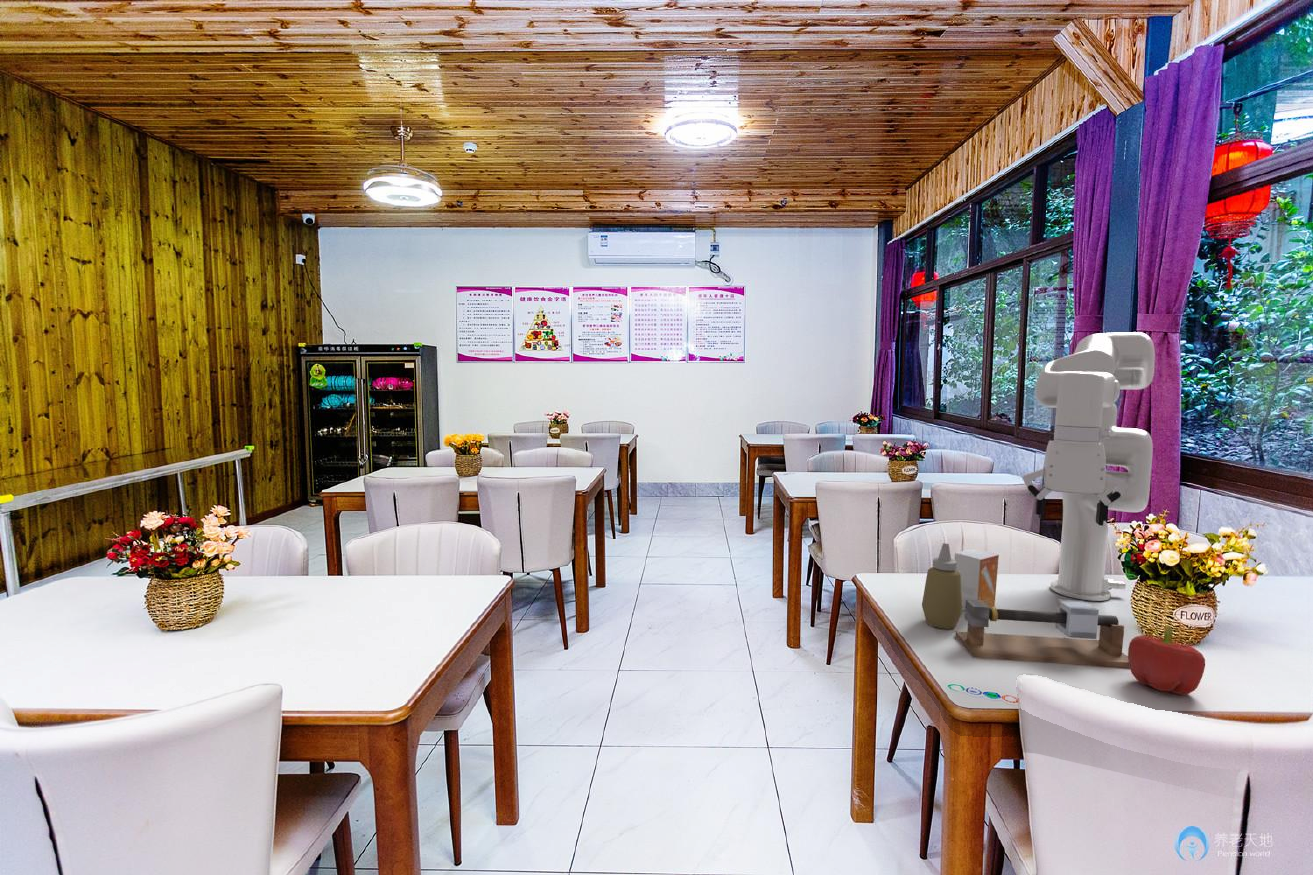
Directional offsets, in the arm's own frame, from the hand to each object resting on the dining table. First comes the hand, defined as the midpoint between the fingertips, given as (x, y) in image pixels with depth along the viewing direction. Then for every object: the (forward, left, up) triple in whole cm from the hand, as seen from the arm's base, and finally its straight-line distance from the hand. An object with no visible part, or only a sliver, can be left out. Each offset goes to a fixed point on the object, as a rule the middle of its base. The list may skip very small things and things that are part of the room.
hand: (1069, 521), depth 123 cm
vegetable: (-9, +15, -26) cm, 32 cm away
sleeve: (-1, +3, -22) cm, 22 cm away
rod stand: (+5, +3, -26) cm, 26 cm away
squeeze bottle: (+21, -8, -26) cm, 34 cm away
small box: (+10, -20, -26) cm, 34 cm away
